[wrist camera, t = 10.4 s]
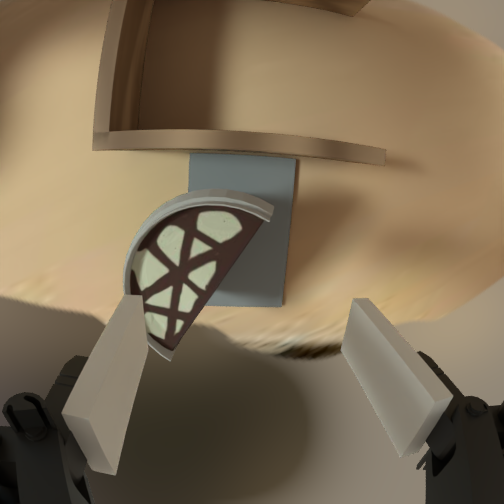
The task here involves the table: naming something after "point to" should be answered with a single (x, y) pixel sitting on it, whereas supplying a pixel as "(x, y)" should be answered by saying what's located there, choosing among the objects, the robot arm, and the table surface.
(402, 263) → the table surface
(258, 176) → the pad
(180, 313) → the food container
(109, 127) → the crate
